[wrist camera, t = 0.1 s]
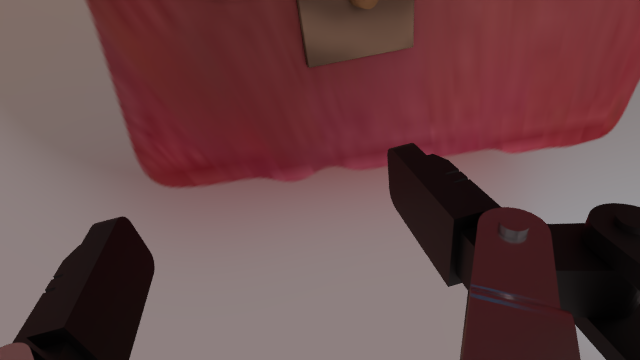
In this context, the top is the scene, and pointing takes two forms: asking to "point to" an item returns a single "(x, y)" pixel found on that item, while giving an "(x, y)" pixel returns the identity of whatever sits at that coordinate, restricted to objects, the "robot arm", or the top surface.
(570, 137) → the top surface
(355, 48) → the board
